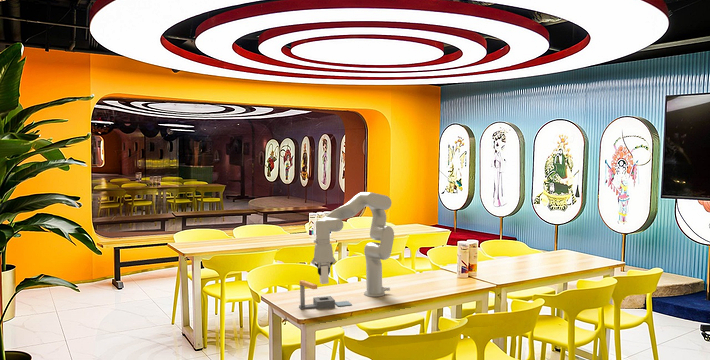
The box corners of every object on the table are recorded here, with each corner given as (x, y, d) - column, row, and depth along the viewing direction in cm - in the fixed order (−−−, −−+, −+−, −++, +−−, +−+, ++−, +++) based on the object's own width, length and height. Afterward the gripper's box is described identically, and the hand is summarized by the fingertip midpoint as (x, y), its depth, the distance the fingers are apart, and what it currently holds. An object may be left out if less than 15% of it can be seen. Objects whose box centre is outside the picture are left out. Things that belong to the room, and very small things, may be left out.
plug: (326, 281, 282) (326, 262, 282) (328, 283, 278) (328, 263, 278) (319, 282, 281) (319, 262, 280) (321, 284, 277) (320, 264, 277)
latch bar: (317, 288, 265) (317, 284, 265) (312, 289, 263) (312, 285, 263) (303, 283, 278) (303, 280, 278) (298, 284, 276) (298, 280, 276)
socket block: (330, 303, 286) (330, 280, 285) (335, 307, 276) (334, 284, 276) (298, 306, 280) (298, 283, 280) (301, 310, 271) (301, 287, 271)
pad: (348, 301, 287) (348, 300, 287) (352, 305, 280) (352, 304, 280) (334, 303, 285) (334, 302, 285) (338, 306, 278) (338, 305, 278)
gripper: (309, 243, 273) (310, 277, 273) (339, 241, 278) (340, 274, 278) (306, 241, 280) (307, 274, 281) (336, 239, 285) (336, 272, 285)
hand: (324, 274), depth 279 cm, fingers closed on plug, 4 cm apart
